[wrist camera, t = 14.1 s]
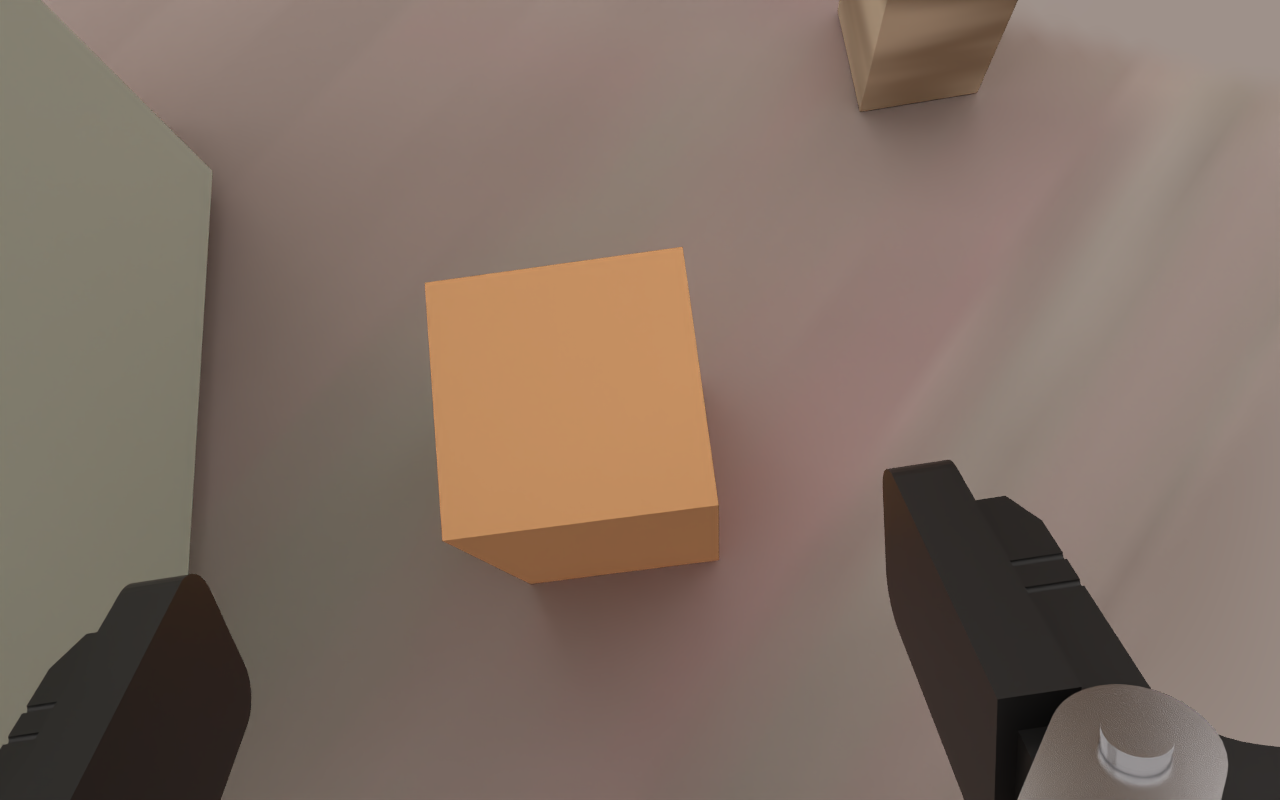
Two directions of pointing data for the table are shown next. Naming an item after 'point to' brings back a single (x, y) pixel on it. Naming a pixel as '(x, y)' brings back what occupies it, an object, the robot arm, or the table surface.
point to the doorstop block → (572, 418)
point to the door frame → (920, 47)
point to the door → (89, 344)
